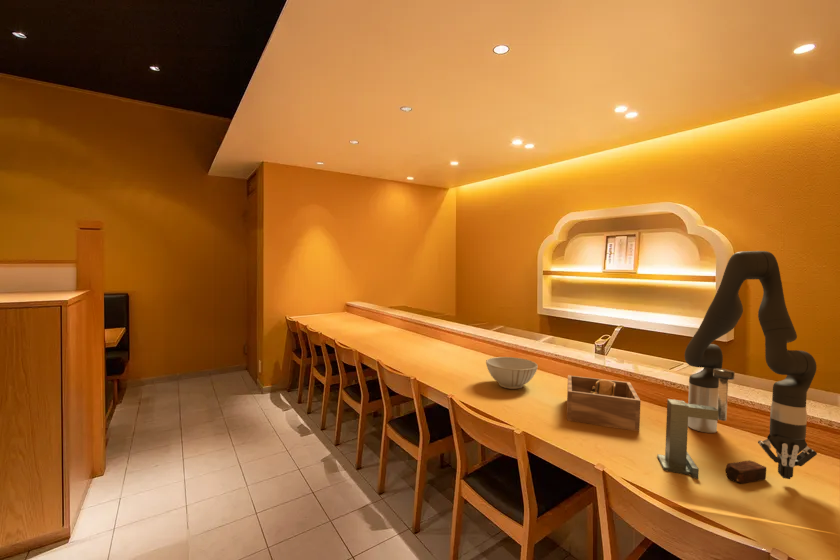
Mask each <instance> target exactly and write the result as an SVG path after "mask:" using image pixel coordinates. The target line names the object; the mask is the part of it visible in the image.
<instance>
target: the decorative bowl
mask: <svg viewBox="0 0 840 560" xmlns="http://www.w3.org/2000/svg"><path fill="white" fill-rule="evenodd" d="M485 364H486V367H487V368H486V369H487V371H488V372H489V374H490V376H491V378H492V379H494V381H496V382H497V383H498V385H499V386H500V387H502V388H505V389H511V390H518V389H522V388H523V387H524V386H525V385H526V384H528V383H529V382H530V381H531V380H532V379H533V378H534V376H535V375H536V373H537V370H538V363H536V362H535V361H532V360H529V359H527V358H526V359H525V358H521V357H513V356H497V357H490V358H487V359H486V361H485Z"/></svg>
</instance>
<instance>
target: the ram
mask: <svg viewBox="0 0 840 560" xmlns="http://www.w3.org/2000/svg"><path fill="white" fill-rule="evenodd" d="M735 372H736V371H734V370H731V369H726V368H722V369H718V368H716V369H714V370H713V376H714V377H717V378H719V389H718V421H722V422H723V421H724V422H726V421H727V417H728V416H727V413H728V412H727V411H728V395H729V394H728V391H729V380H731V381H733V380H735V374H736V373H735Z"/></svg>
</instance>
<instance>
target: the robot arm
mask: <svg viewBox="0 0 840 560" xmlns="http://www.w3.org/2000/svg"><path fill="white" fill-rule="evenodd" d="M747 280H758V281H759V282H760V284H761V286H762V291H763V295H762V299H761V302H760V303H759V304H760V305H759V308H758V312H757V313H758V314H757V316H758V317H757V318H758V322H759V325H760V327H761V330H762V333H763V336H764V339H765V340H764V342H765V343H764V347H765V349H764V351H765V352H764V353H765V355H764V356H765V357H764V359H765V361H766V365H767V366H768V367H769V368H768V369H770V370H771V371H772V372H773V373H775V374H778V375H781V376H786V377H785V378H784V379H782V380H778V381H776V382H774V383H773V385H772V398H771V400H772V401H771V404H770V412H769V413H770V416H769V433H768V435H767V438H766V439H765V440H758V441H757V444H759V446H760V447H761V448H762V450H763V451H764V452H765V454H766V455H767V456H768V457H769V458H770V460H772V461H773V462H774V463H776V464H777V473H778V474H779V475H780V477H782V478H783V479H785V480H786V479H787V480H791V478H793V477H794V467H797V466H798V467H803V465H805V464H806V463H808V462H809V461H810V460H812V459H813V458H815V457H816V456H817V453H818V452H817V451H816V450H814V449H813V448H811V447H809V446H808V443H807V442H806V437H807V422H808V413H807V396H808V395H807V394H808V391H809V389H810V387H811V386H812V383H813V381H814V379H815V375H816V373H817V362H816V359H815V358H814V356H813V355H812V354H811V353H809V352H808V351H805V350H798V349H797V350H796V349H795V350H792V349H791V350H790V349H788V343H792V342H794V341H796V340H797V337H798V335H797V331H796V329H795V327H794V324H793V321H792V320H791V317H790V313H789V311H788V308H787V305H786V300H785V299H786V298H785V295H784V288H783V282H782V276H781V271H780V266H779V263H778V261H777V258H776V256H775V255H774V254H773V253H772V252H770V251H765V250H747V251H746V250H745V251H744V250H743V251H737V252H735V253H734V254H732V255H730V258H729V260H728V261H727V263H726V266H725V269H724V271H723V275H722V278H721V281H720V284H719V286H718V289H717V291H716V293H715V295H714V297H713V299H712V301H711V302H710V305H709V306H708V308H707V311H706V312H705V315H704V317H703V319H702V321H701V323H700V325H699V327H698V329H697V331H696V332H695V334H693V336H692V338H691V340H690V341H689V342H688V344H686V345H687V346H686V347H685V351H684V360H685V363H686V364H687V365H688V366H691V367H695V368H702V370H700V371H699V372H696V373H692V374H690V375H689V376H688V377H689V378H688V399H687V400H688V401H687V404H695V405H703V406H711V407H715V408H716V409H717V410H718V389H719V378H717V377H714V376H713V370H714V369H716V368H718V369H723V362H724V361H723V360H724V359H723V358H724V355H723V351H722V349H721V347H720V346H719V345H717V344H716V343H715V344H714V343H713V342H714V341H716V340H718V339H719V338H721V337H723V336H725V335H727V334H728V333H730V332H731V331H733V329H735V327H736V326H737V324H738V322H739V321H740V319H741V318H742V315H743V313H744V307H743V303H742V300H741V298H740V295H739V292H740V288H741V286H742V285H743V284H744V282H745V281H747ZM688 428H690V429H692V430H694V431H698V432H702V433H707V434H715V433H717V430H718V421H717V420H709V419H702V418H695V417H688ZM772 447H773V448H774V449H775V453H776V454H774V452H773V451H772V450H771V448H772Z"/></svg>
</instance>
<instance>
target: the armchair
mask: <svg viewBox="0 0 840 560" xmlns="http://www.w3.org/2000/svg"><path fill="white" fill-rule="evenodd" d="M609 380H610V379H606V380H598V381H597V382H596V384H595V386H593V387H592V391H591V392H590V393H593V394H601V395H608V396H615V383H614V382H612V381H609Z"/></svg>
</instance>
